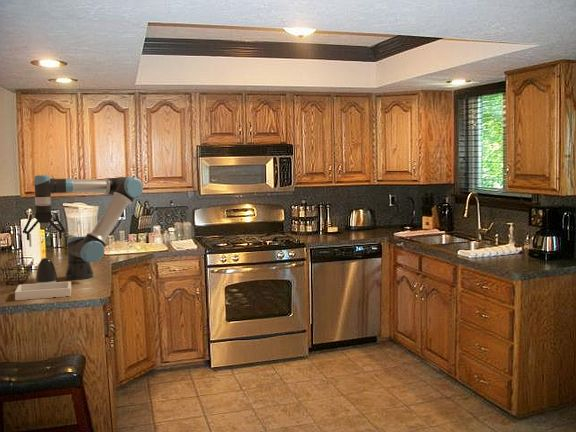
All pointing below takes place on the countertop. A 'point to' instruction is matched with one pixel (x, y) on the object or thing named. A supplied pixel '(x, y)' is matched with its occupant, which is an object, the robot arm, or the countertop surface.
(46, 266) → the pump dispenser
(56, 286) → the box
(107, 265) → the countertop surface
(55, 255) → the countertop surface
